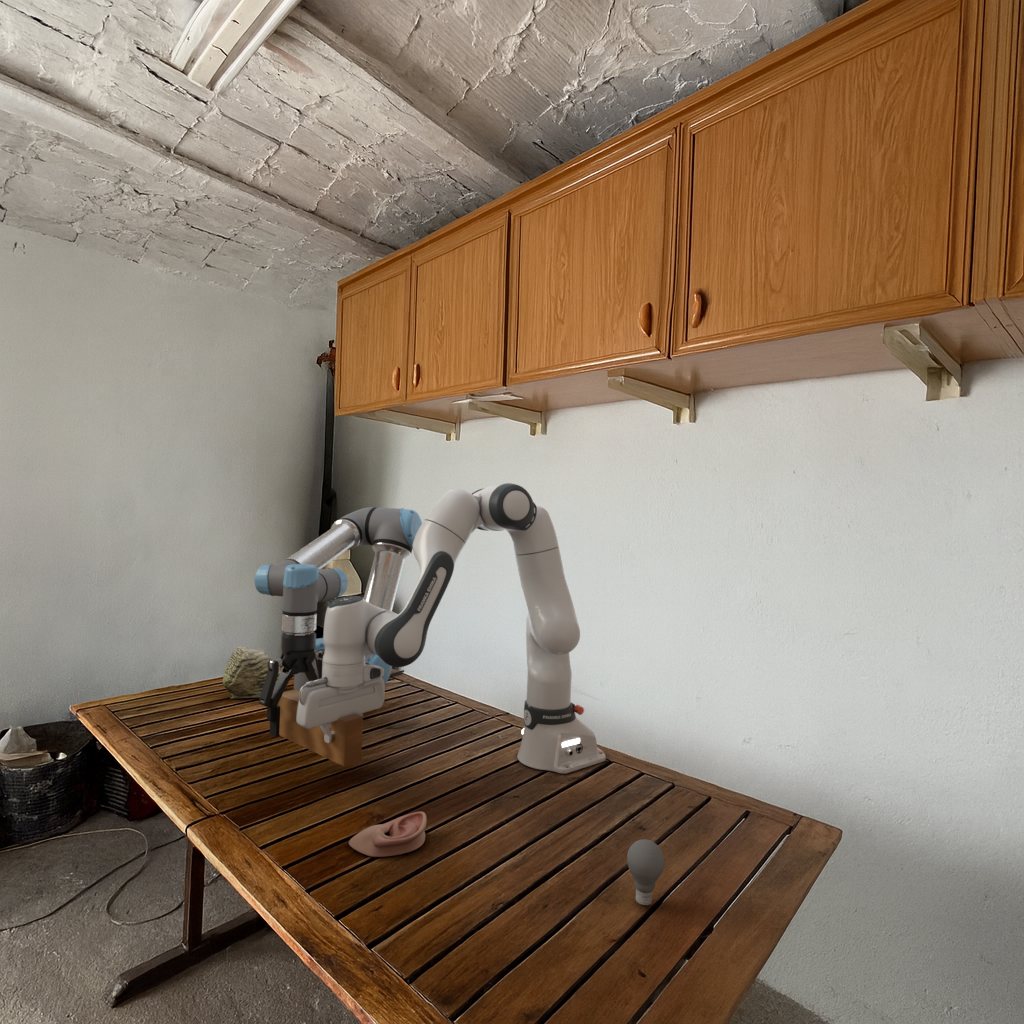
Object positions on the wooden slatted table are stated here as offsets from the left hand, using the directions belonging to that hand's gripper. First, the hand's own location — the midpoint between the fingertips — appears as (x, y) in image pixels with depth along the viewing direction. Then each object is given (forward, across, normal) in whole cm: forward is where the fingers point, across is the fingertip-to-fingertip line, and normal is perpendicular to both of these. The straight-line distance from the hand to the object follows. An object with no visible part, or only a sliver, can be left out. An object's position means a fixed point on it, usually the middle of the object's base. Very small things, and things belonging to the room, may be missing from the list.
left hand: (295, 728), depth 145 cm
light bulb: (+10, +11, -83) cm, 84 cm away
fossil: (+10, +22, +57) cm, 62 cm away
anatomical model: (+10, -5, -39) cm, 40 cm away
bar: (+2, 0, -8) cm, 9 cm away
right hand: (-2, 0, -17) cm, 17 cm away
